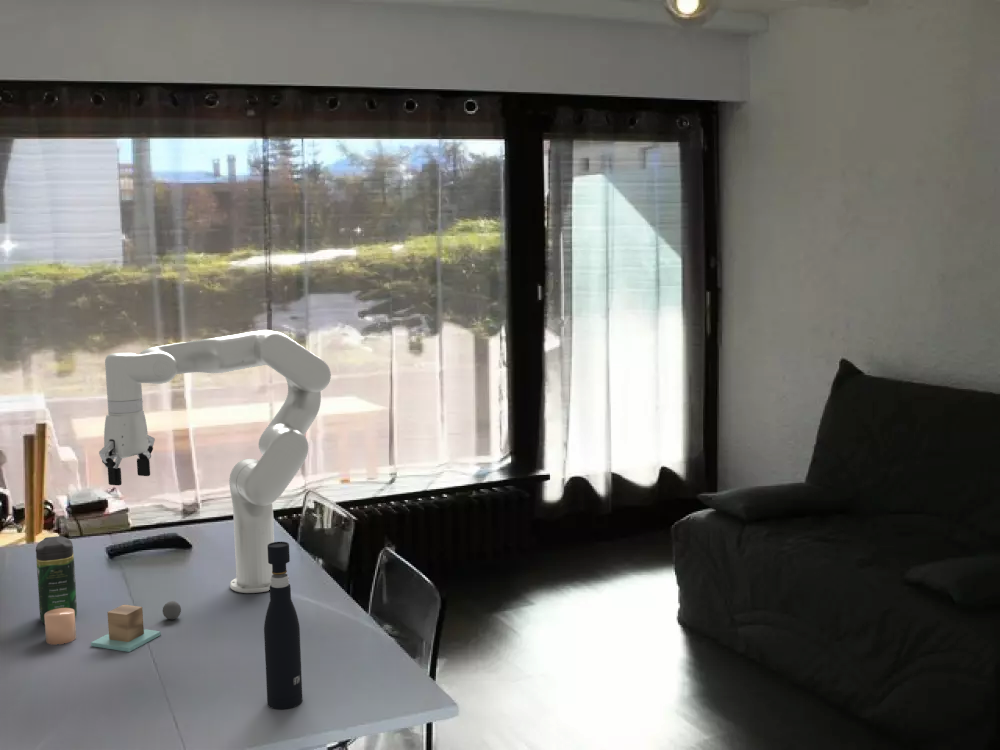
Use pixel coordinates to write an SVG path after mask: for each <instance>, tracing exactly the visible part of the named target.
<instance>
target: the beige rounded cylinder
mask: <svg viewBox="0 0 1000 750" xmlns="http://www.w3.org/2000/svg"><path fill="white" fill-rule="evenodd" d="M44 618H45V624H44V629H45V630H44V631H45V642H46V644H48V645H52V646H53V645H54V646H55V645H57V644H59V645H64V643H65V644H68V643H72V642H73V641H74V640H76V639H77V628H76V617H75V611H74V609H72V608H58V609H53V610H50V611H48V612H46V613H45V614H44ZM57 646H58V645H57Z"/></svg>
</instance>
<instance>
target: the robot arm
mask: <svg viewBox="0 0 1000 750" xmlns="http://www.w3.org/2000/svg"><path fill="white" fill-rule="evenodd" d="M104 366H105V367H104V369H105V383H106V396H107V397H106V398H107V399H106V400H107V401H106V402H107V414H106V415H105V422H104V431H103V433H104V434H103V444H104V446H103V447H102V448H101V449H100V450H99V451H98V454H99V457H100V459H101V460H102V461H101V462H102V464H103V465H104V466H105V468H106V469H107V476H108V477H107V478H108V485H109V486H121V485H122V483H123V482H122V469H121V467H120V464H121V462H122V460H123V459H127V458H130V457H133V456H137V457H138V458H136V468H137V469H136V470H137V476H140V477H149V476H150V475H151V465H150V463H151V462H150V459H151V458H152V452H153V450H154V445H155V444H154V443H155V441H156V440H155V437H153V436H151V435H149V433H148V427H147V421H146V415H145V412H144V407H143V406H144V405H143V403H144V400H143V389H142V386H143V385H142V384H157V385H158V384H159V385H160V384H167V383H169V382H171V381H172V380H173V379H174V378H175V377H176V375H180V374H181V375H183V374H188V373H189V374H190V373H192V374H193V373H202V374H203V373H204V374H223V373H228V372H229V373H230V372H234V371H239V370H245V369H251V368H255V367H262V366H267V367H270V368H271V369H273V370H274V371H275V372H277V373H279V374H280V375H281V376H283V377H284V378H285V380H286V382H287V383H286V384H287V395H286V398H285V399H284V400H285V401H284V402H283V404H282V406H281V407H280V409H279V411H278V412H277V413H276V415H275V416H274V417H273V419H272V420H271V421H270V423H269V424H268V426H266V428H265V429H264V431H262V434H261V435H260V437H259V439H258V449H259V451H260V453H261V455H262V456H261V457H260V458H259V460H258V459H256V458H246V459H242V460H240V461H239V462H237V463H236V464H235V465H234V466H233V468H232V470H231V472H230V475H229V484H228V485H229V491H230V497H231V503H232V504H231V505H232V514H233V534H234V535H233V536H234V537H233V538H234V554H235V556H234V558H235V576H236V577H235V578H234V579H232V580H230V582H229V586H230V589H231V590H232V591H234V592H237V593H241V594H242V593H244V594H255V593H256V594H257V593H263V592H264V593H265V592H270V591H269V590H270V585H271V580H270V579H271V576H272V575H273V573H272V564H269V563H268V544H270V543H273V542H275V532H274V531H275V529H274V525H275V524H274V521H275V520H274V510H273V503H275V502H276V501H277V500H278V499H279V498H280V497H281V496H282V495H283V493H284V492H285V491H286V489H287V488H288V487H289V485H290V484H291V482H292V481H293V479H294V478H295V476H296V475H297V473H298V472H299V470H301V468H302V467H303V465H304V463H305V462H306V459H307V456H308V454H309V442H308V438H307V437H306V433H307V432H308V430H310V427H311V426H312V424H313V423H314V421H315V419H316V418H317V415H318V414H319V411H320V407H321V402H322V394H321V393H322V391H323V390H325V389H326V388H327V387H328V385H329V383H331V378H332V377H331V376H332V373H331V369H330V367H329V365H328V363H326V362H325V360H323V359H322V358H321V357H319V355H318V356H317V355H316V354H314V353H313V352H311V351H310V350H309V349H307V348H306V347H304V346H303V345H301V344H299V343H298V342H297V341H295V340H294V339H292V338H291V337H289V336H288V335H286V334H284V333H283V332H280V331H276V330H272V329H260V330H254V331H253V330H252V331H246V332H242V333H236V334H231V335H223V336H217V337H212V338H211V337H210V338H204V339H198V340H194V341H193V340H192V341H185V342H177V343H176V342H175V343H172V344H171V343H170V344H165V345H159V346H152V347H149V348H145V349H144V350H142V351H140V352H139V354H137V353H135V352H115V353H110V354H108V355H107V356H106V357H105V360H104Z"/></svg>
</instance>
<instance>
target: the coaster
mask: <svg viewBox="0 0 1000 750" xmlns="http://www.w3.org/2000/svg"><path fill="white" fill-rule="evenodd" d="M161 633H162V632H161V631H158V630H155V629H154V630H153V629H145V628H144V634H143V635H141V636H139V637H137V638H135V639H133V640H131V641H129V642H124V641H117V640H111V639H109V633H107V634H105V635H103V636H101V637H99V638H97V639H95V640H93V641H91V642H90V645H91V647H96V648H100V649H102V648H103V649H109V650H115V651H121V652H127V653H130V652H132V651H134V650H136V649H138V648H139V647H141V646H143V645H145V644H147V643H149V642H150V641H153V640H154V639H156V638H157V637H159V636H161Z"/></svg>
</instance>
